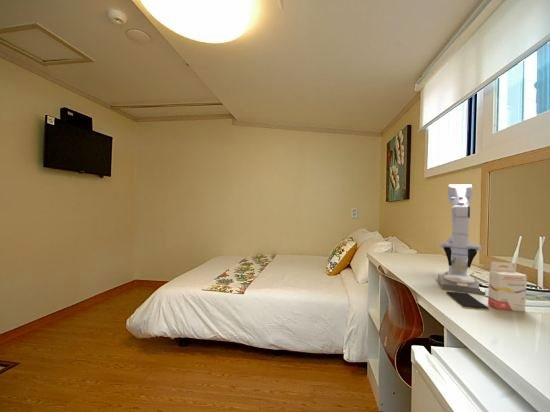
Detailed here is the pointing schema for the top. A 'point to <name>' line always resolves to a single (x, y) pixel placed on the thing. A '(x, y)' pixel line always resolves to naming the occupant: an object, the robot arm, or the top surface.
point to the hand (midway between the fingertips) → (459, 266)
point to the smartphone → (467, 300)
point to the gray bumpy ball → (459, 265)
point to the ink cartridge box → (506, 287)
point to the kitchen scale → (459, 283)
